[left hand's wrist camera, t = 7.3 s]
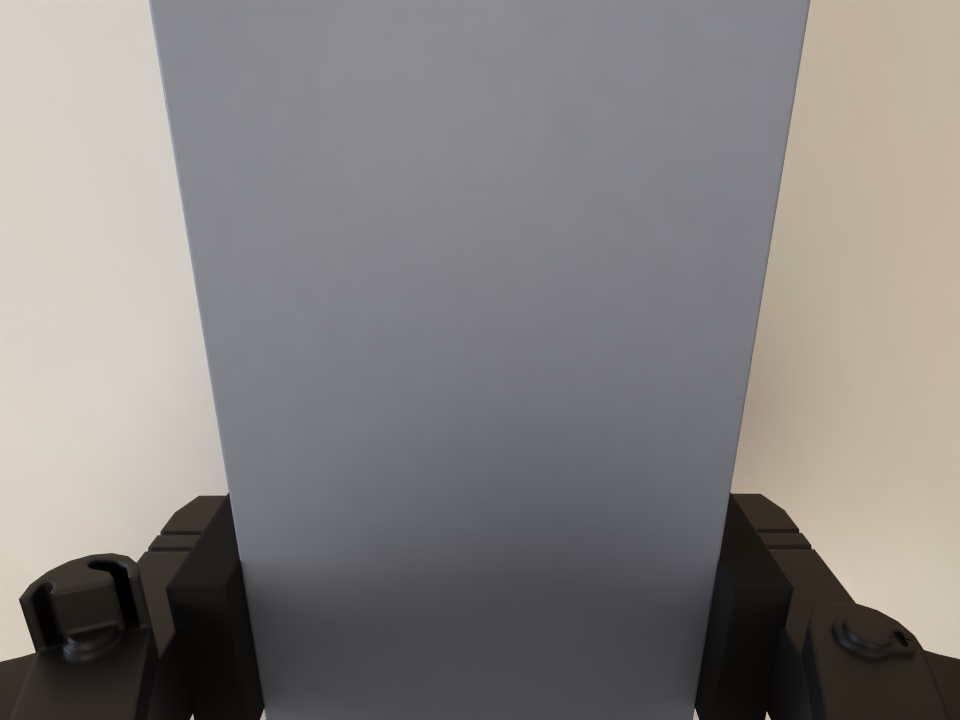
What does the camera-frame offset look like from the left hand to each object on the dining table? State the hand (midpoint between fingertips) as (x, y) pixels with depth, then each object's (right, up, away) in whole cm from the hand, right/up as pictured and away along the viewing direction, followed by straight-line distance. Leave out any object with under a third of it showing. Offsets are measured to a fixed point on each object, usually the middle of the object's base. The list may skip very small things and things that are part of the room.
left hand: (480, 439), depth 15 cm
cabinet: (0, +6, +2) cm, 7 cm away
